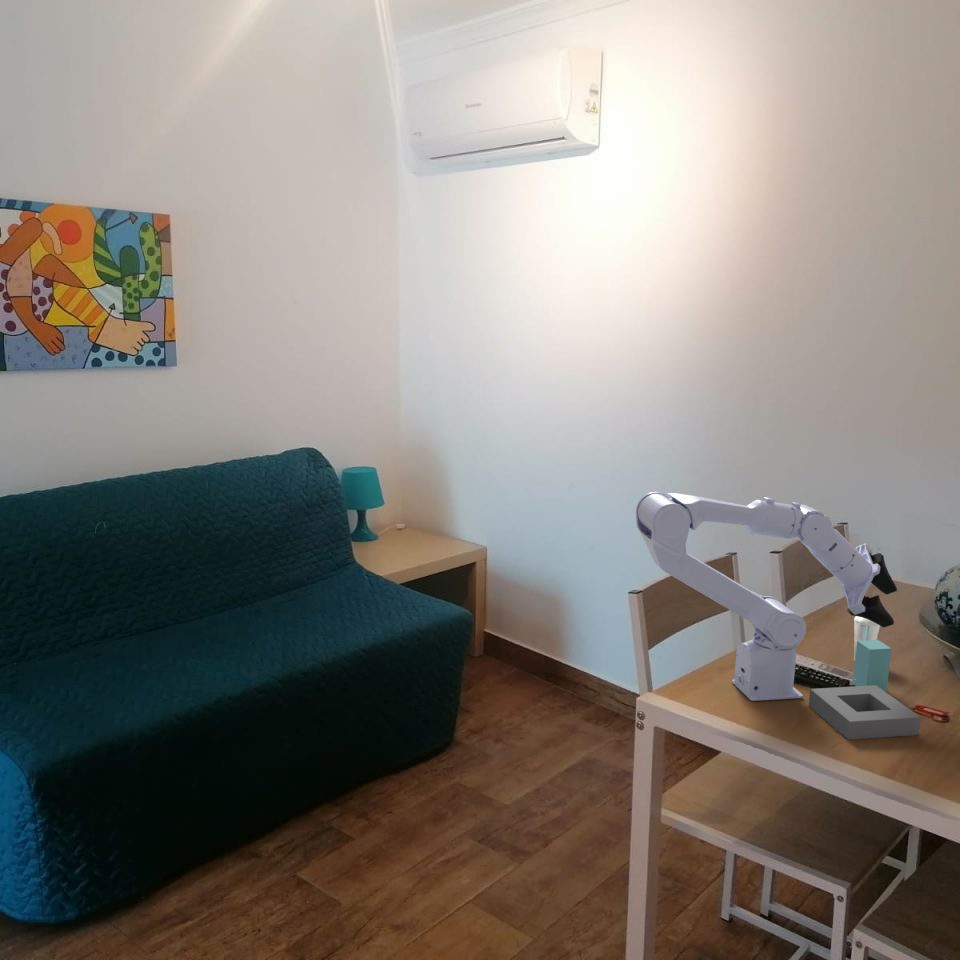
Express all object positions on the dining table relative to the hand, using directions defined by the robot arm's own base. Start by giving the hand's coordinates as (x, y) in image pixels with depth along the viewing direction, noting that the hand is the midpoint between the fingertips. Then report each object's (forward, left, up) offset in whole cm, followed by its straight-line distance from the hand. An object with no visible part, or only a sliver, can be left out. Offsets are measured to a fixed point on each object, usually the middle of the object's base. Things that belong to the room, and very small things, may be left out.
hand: (890, 607), depth 161 cm
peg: (-3, 0, -14) cm, 15 cm away
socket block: (-11, -12, -14) cm, 22 cm away
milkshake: (+3, +11, -15) cm, 18 cm away
